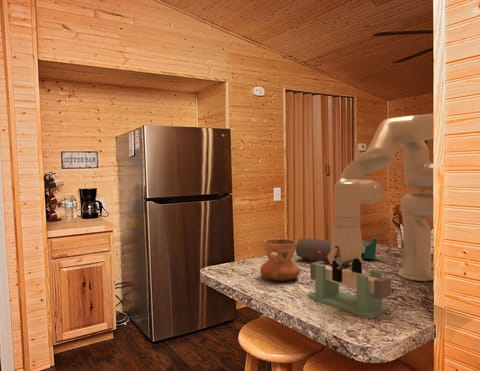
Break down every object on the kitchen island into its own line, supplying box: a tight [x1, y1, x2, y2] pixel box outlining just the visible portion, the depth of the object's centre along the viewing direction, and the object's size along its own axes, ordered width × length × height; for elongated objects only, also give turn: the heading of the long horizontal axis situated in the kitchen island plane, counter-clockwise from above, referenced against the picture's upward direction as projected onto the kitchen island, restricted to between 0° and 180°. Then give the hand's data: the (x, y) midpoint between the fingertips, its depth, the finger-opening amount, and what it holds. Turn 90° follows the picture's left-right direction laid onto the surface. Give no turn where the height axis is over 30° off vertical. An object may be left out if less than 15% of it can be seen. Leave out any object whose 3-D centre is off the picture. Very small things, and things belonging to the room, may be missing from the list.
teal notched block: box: [362, 236, 378, 260], centre depth 170 cm, size 18×11×10 cm, turn 164°
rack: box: [308, 262, 391, 320], centre depth 112 cm, size 10×22×11 cm, turn 38°
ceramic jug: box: [260, 237, 300, 282], centre depth 138 cm, size 18×14×14 cm
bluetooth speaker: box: [295, 238, 353, 266], centre depth 159 cm, size 23×9×10 cm, turn 53°
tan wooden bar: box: [309, 261, 392, 300], centre depth 112 cm, size 5×25×5 cm, turn 38°
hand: (347, 278), depth 111 cm, fingers open, 9 cm apart
